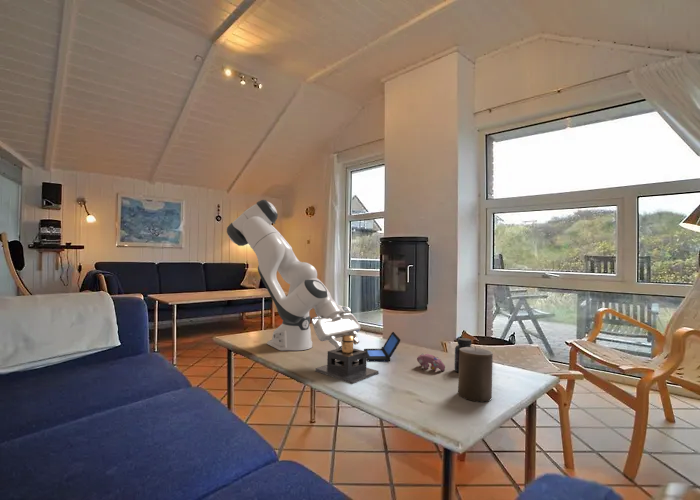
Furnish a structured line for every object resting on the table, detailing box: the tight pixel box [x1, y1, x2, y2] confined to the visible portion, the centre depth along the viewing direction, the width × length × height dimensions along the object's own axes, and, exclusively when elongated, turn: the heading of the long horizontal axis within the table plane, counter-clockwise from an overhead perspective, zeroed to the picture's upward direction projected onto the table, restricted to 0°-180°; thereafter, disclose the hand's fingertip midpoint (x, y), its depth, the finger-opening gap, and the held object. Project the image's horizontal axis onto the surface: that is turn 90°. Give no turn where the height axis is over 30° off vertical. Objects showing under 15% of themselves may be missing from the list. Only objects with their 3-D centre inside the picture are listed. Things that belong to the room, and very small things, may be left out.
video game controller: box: [416, 353, 446, 372], centre depth 130 cm, size 10×5×7 cm, turn 49°
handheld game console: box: [363, 331, 401, 362], centre depth 146 cm, size 16×13×9 cm
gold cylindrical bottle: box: [341, 335, 354, 365], centre depth 124 cm, size 4×4×12 cm
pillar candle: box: [457, 346, 494, 403], centre depth 105 cm, size 10×10×15 cm
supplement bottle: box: [453, 337, 472, 374], centre depth 128 cm, size 7×7×12 cm
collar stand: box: [315, 347, 379, 385], centre depth 124 cm, size 18×14×8 cm
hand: (348, 345), depth 124 cm, fingers open, 8 cm apart
